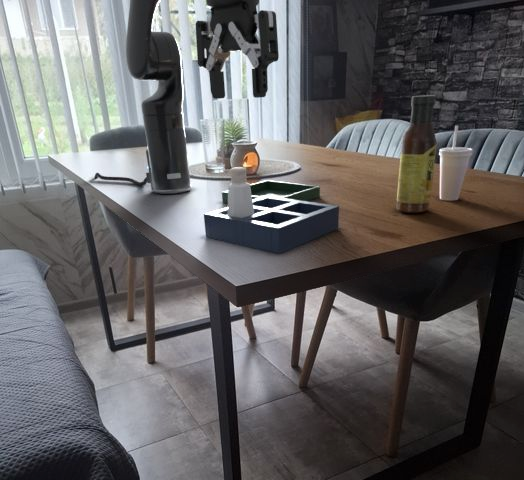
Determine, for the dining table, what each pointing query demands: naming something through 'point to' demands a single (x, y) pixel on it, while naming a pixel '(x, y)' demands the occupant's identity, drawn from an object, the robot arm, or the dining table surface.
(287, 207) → the rack
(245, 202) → the pepper shaker
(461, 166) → the smoothie
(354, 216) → the dining table surface
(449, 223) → the dining table surface
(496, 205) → the dining table surface
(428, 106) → the sauce bottle
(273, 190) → the tray
